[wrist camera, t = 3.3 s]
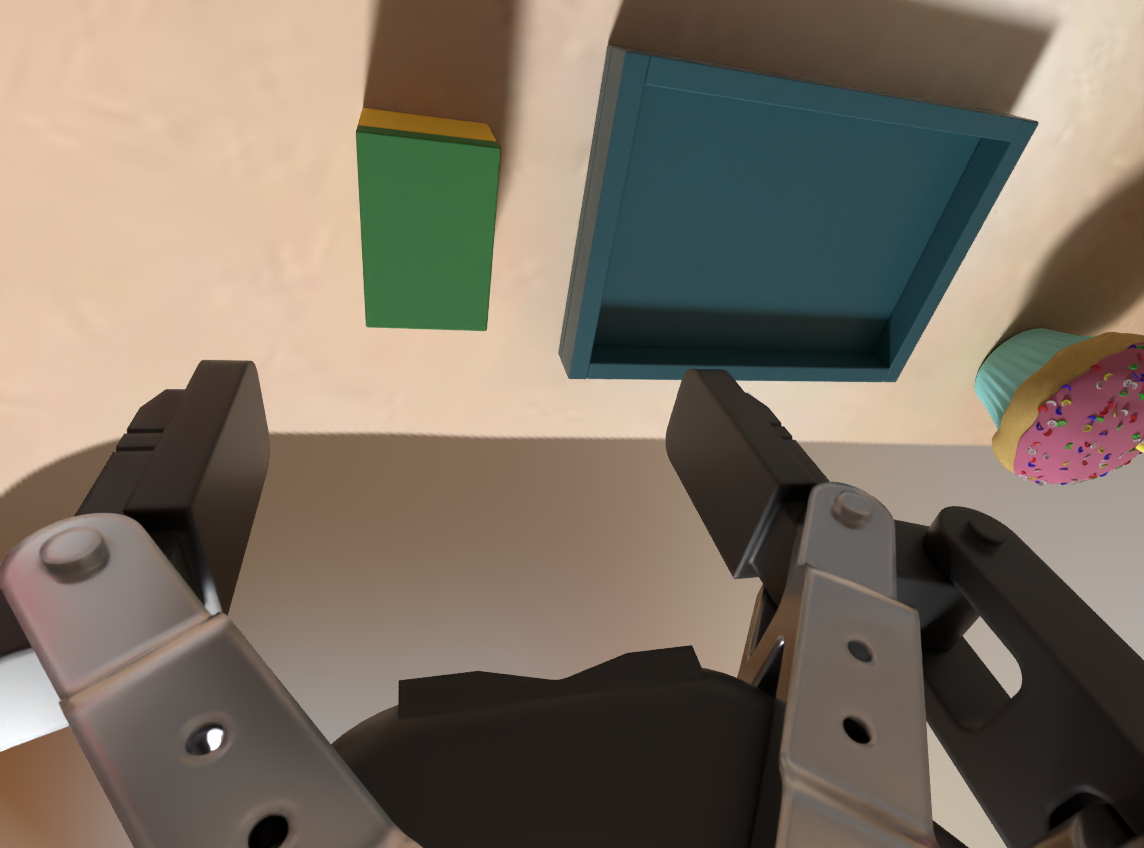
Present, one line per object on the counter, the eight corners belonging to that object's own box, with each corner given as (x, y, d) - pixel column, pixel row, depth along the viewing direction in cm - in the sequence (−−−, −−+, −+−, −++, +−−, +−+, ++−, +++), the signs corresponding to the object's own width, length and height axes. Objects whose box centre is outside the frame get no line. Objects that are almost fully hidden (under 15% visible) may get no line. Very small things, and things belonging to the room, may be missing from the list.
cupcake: (1117, 304, 32) (1408, 440, 23) (1019, 429, 37) (1227, 584, 28) (1000, 289, 30) (1274, 435, 20) (911, 426, 34) (1100, 595, 25)
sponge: (476, 289, 23) (487, 331, 21) (370, 284, 22) (365, 327, 20) (487, 123, 20) (501, 147, 17) (362, 107, 19) (355, 130, 16)
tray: (557, 353, 26) (568, 379, 24) (607, 44, 19) (626, 50, 18) (870, 360, 30) (896, 382, 29) (997, 111, 24) (1040, 121, 22)
